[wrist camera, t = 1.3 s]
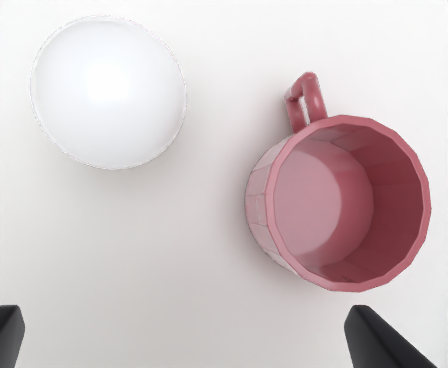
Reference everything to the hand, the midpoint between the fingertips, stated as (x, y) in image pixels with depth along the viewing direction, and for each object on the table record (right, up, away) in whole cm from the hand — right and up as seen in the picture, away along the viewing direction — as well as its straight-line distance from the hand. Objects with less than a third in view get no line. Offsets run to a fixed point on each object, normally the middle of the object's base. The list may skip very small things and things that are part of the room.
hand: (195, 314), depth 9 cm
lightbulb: (-5, +7, +14) cm, 16 cm away
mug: (+6, +4, +15) cm, 17 cm away
